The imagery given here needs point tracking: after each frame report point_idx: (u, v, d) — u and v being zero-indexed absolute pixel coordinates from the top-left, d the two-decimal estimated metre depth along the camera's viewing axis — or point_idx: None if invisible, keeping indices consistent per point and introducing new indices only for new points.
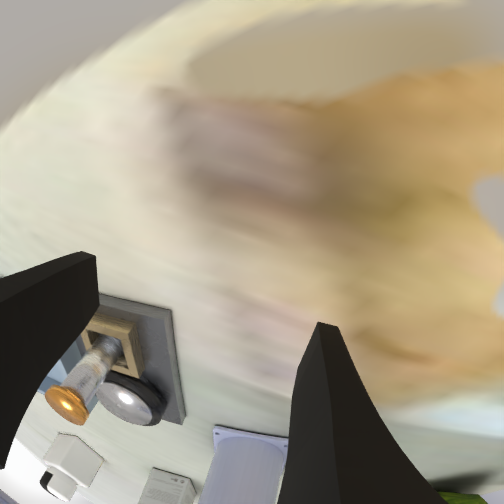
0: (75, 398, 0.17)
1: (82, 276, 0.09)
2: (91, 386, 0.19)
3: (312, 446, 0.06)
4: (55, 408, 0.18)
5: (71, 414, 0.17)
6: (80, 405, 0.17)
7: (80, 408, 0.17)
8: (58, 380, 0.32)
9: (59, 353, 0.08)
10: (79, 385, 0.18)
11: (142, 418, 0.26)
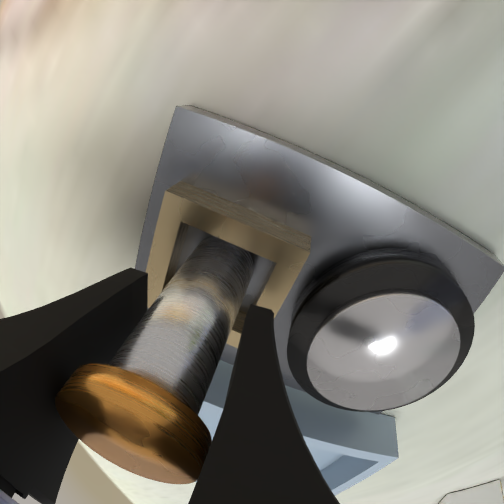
0: (84, 368, 0.05)
1: (135, 296, 0.09)
2: (160, 329, 0.07)
3: None
4: (141, 469, 0.06)
5: (133, 440, 0.05)
6: (100, 373, 0.05)
7: (102, 382, 0.05)
8: (331, 460, 0.19)
9: None
10: (122, 350, 0.07)
11: (440, 337, 0.10)
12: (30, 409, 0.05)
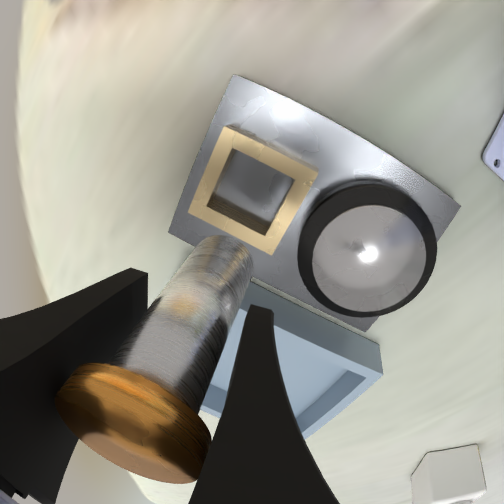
0: (84, 367, 0.05)
1: (135, 296, 0.09)
2: (159, 329, 0.07)
3: None
4: (141, 468, 0.06)
5: (132, 439, 0.05)
6: (100, 373, 0.05)
7: (101, 381, 0.05)
8: (323, 389, 0.24)
9: None
10: (122, 349, 0.07)
11: (409, 244, 0.15)
12: (30, 409, 0.05)
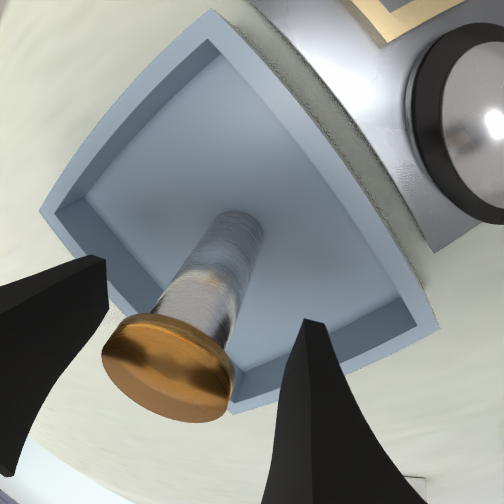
0: (131, 318, 0.07)
1: (92, 280, 0.09)
2: (190, 287, 0.09)
3: (293, 443, 0.06)
4: (173, 410, 0.08)
5: (171, 377, 0.07)
6: (146, 320, 0.07)
7: (149, 326, 0.07)
8: None
9: (69, 358, 0.08)
10: (158, 305, 0.09)
11: None
12: None
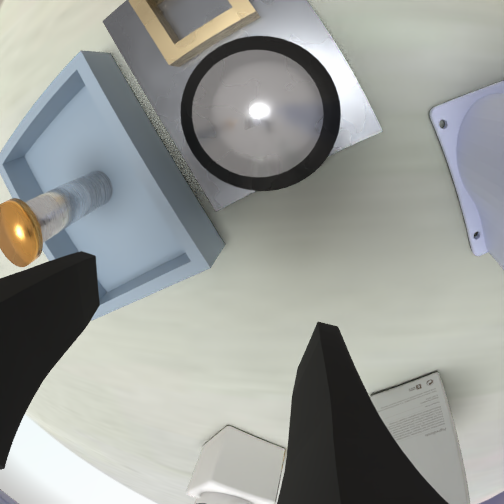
0: None
1: (82, 276, 0.09)
2: (42, 196, 0.14)
3: (312, 446, 0.06)
4: (16, 256, 0.13)
5: (13, 228, 0.12)
6: (11, 199, 0.12)
7: (10, 201, 0.12)
8: (146, 267, 0.22)
9: (59, 353, 0.08)
10: None
11: (306, 116, 0.13)
12: None
